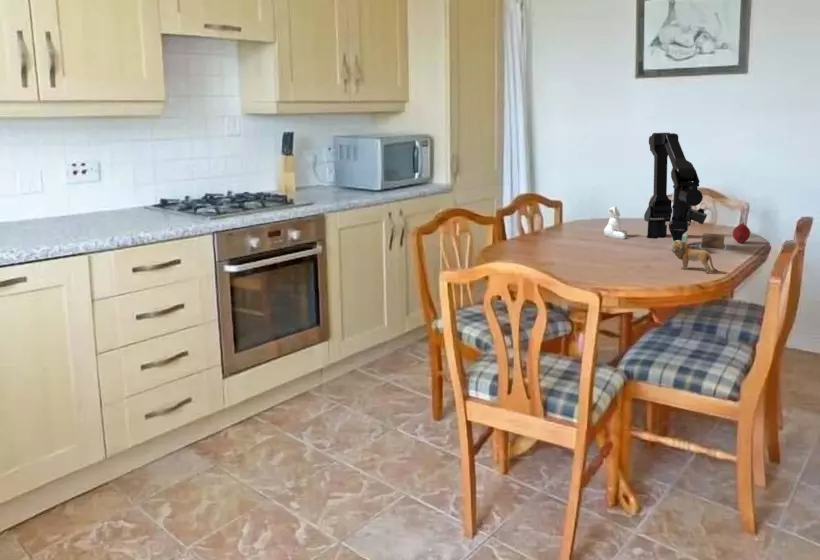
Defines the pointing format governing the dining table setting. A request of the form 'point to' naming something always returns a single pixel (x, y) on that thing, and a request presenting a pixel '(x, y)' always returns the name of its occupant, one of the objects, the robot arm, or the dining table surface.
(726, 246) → the blueprint mat
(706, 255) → the lion figurine
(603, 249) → the dining table surface
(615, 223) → the white creature statuette
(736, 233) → the onion
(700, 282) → the dining table surface
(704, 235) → the walnut base
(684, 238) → the sage block
